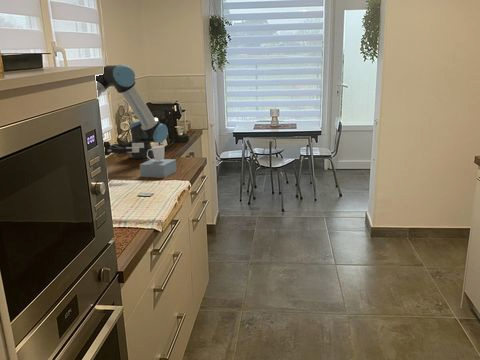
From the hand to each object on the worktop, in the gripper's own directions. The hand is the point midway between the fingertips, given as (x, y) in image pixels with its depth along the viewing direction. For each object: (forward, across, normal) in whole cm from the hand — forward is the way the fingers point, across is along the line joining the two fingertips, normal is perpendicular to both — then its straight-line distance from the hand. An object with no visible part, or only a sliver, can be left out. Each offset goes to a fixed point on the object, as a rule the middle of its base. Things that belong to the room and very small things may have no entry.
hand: (141, 147), depth 243 cm
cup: (+8, +1, -8) cm, 11 cm away
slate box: (+9, +1, -15) cm, 17 cm away
